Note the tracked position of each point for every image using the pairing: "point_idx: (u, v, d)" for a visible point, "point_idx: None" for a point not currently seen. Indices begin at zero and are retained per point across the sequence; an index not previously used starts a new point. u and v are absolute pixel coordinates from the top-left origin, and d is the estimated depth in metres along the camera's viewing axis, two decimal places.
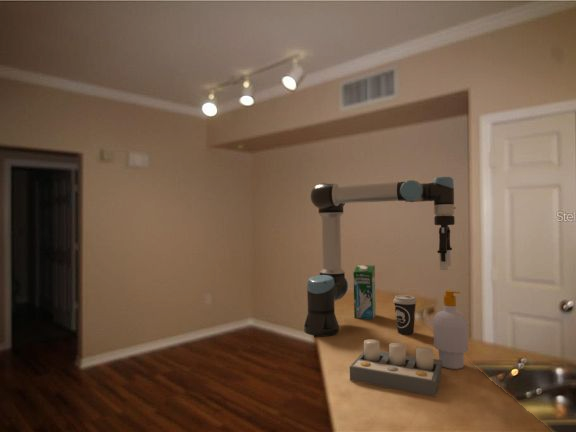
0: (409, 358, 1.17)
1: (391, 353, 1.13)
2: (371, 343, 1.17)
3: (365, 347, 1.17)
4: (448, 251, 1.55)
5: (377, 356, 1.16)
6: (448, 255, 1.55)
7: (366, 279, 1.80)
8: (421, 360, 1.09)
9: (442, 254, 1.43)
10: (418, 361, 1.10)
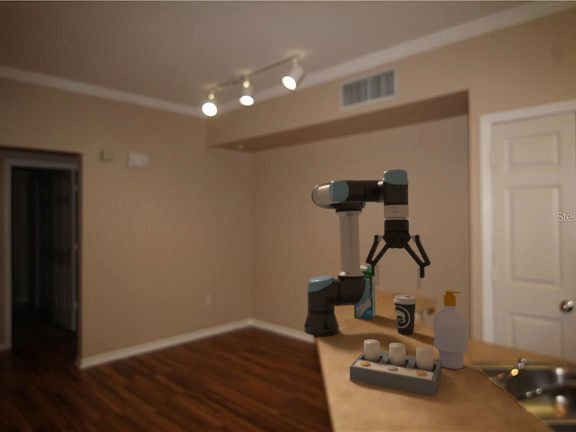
0: (409, 358, 1.17)
1: (391, 353, 1.13)
2: (371, 343, 1.17)
3: (365, 347, 1.17)
4: (417, 269, 1.13)
5: (377, 356, 1.16)
6: (417, 274, 1.13)
7: None
8: (421, 360, 1.09)
9: (372, 266, 1.21)
10: (418, 361, 1.10)
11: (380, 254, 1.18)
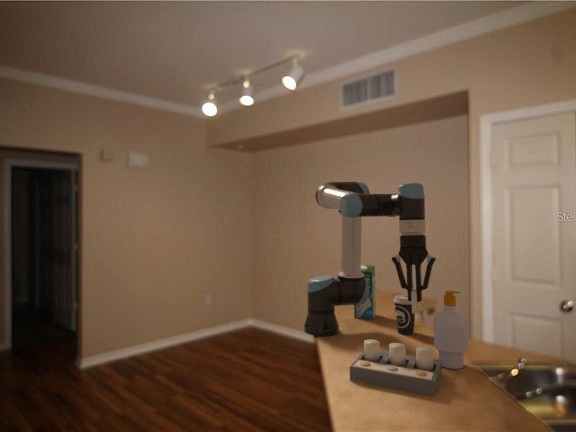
0: (409, 358, 1.17)
1: (391, 353, 1.13)
2: (371, 343, 1.17)
3: (365, 347, 1.17)
4: None
5: (377, 356, 1.16)
6: None
7: None
8: (421, 360, 1.09)
9: (408, 291, 1.13)
10: (418, 361, 1.10)
11: (409, 275, 1.12)
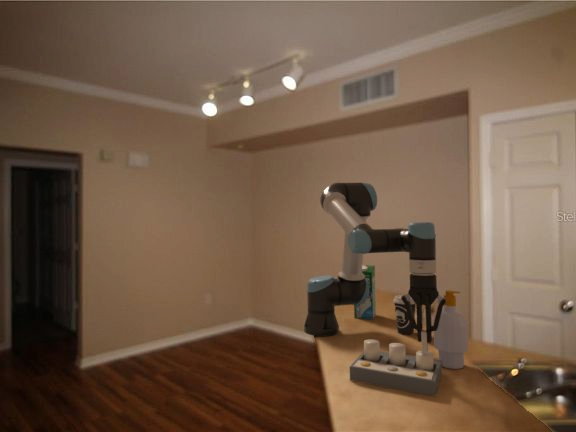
0: (409, 358, 1.17)
1: (391, 353, 1.13)
2: (371, 343, 1.17)
3: (365, 347, 1.17)
4: None
5: (377, 356, 1.16)
6: None
7: None
8: (421, 364, 1.09)
9: None
10: (418, 366, 1.10)
11: (419, 315, 1.10)
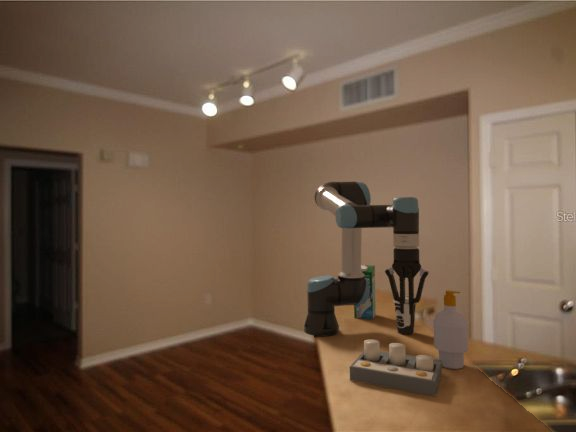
0: (409, 358, 1.17)
1: (391, 353, 1.13)
2: (371, 343, 1.17)
3: (365, 347, 1.17)
4: None
5: (377, 356, 1.16)
6: None
7: None
8: (421, 368, 1.09)
9: None
10: None
11: (402, 288, 1.13)
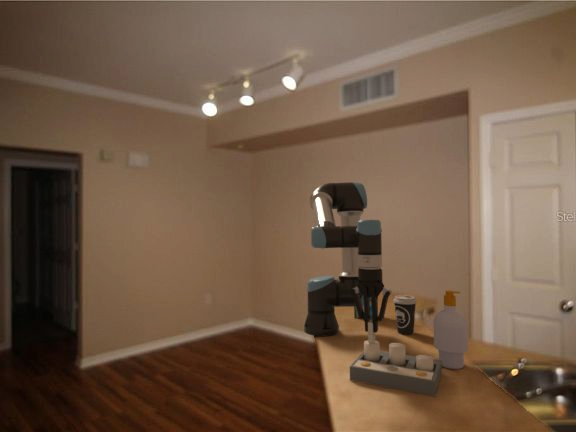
0: (409, 358, 1.17)
1: (391, 353, 1.13)
2: (371, 344, 1.17)
3: (365, 348, 1.17)
4: None
5: (377, 357, 1.16)
6: None
7: None
8: (421, 368, 1.09)
9: None
10: None
11: (366, 307, 1.18)
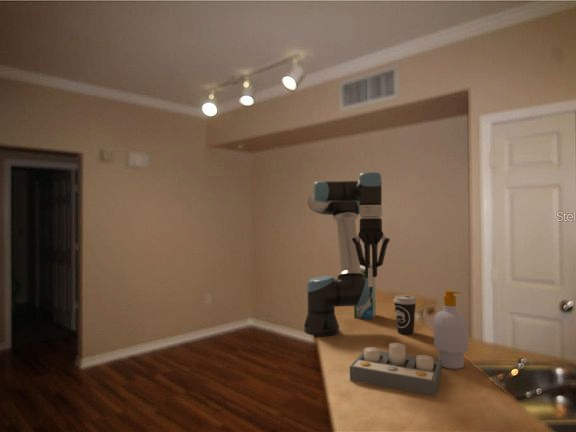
0: (409, 358, 1.17)
1: (391, 353, 1.13)
2: (371, 351, 1.17)
3: (365, 355, 1.17)
4: None
5: None
6: None
7: None
8: (421, 368, 1.09)
9: None
10: None
11: (366, 254, 1.27)
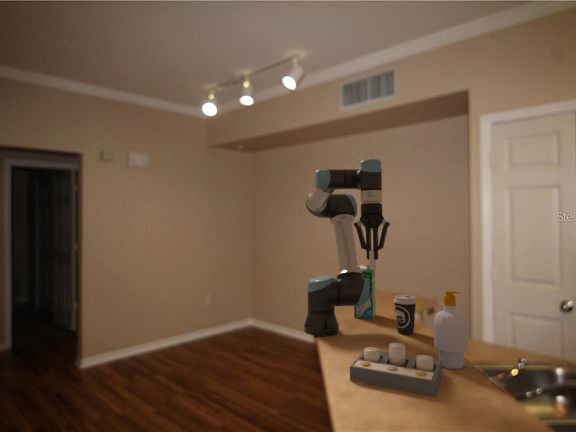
0: (409, 358, 1.17)
1: (391, 353, 1.13)
2: (371, 351, 1.17)
3: (365, 355, 1.17)
4: None
5: None
6: None
7: None
8: (421, 368, 1.09)
9: (367, 251, 1.33)
10: None
11: (367, 237, 1.32)
